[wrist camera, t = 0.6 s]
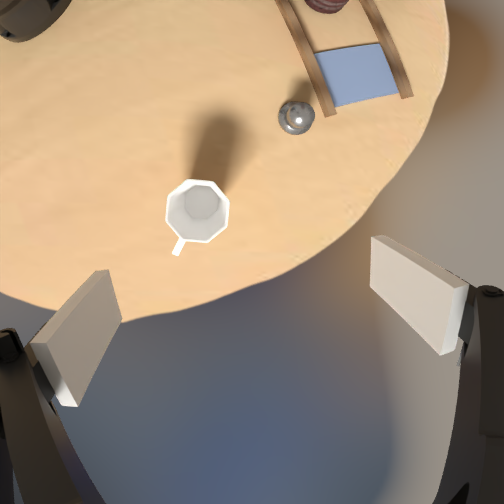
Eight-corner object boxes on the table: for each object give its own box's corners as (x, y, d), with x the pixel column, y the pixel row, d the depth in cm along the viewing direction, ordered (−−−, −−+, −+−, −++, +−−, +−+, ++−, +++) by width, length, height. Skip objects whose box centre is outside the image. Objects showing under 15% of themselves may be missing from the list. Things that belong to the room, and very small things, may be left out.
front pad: (310, 55, 34) (311, 54, 34) (378, 44, 34) (379, 43, 34) (331, 108, 37) (332, 107, 36) (397, 93, 37) (398, 92, 36)
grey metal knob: (273, 107, 36) (278, 102, 32) (304, 98, 36) (313, 92, 32) (284, 139, 38) (291, 137, 34) (315, 129, 37) (325, 126, 34)
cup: (239, 189, 39) (243, 197, 31) (203, 256, 41) (199, 278, 33) (191, 164, 37) (183, 165, 30) (156, 232, 40) (141, 249, 32)
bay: (261, -25, 30) (263, -32, 28) (345, -33, 29) (350, -39, 28) (325, 117, 37) (330, 115, 35) (406, 98, 37) (413, 96, 35)
